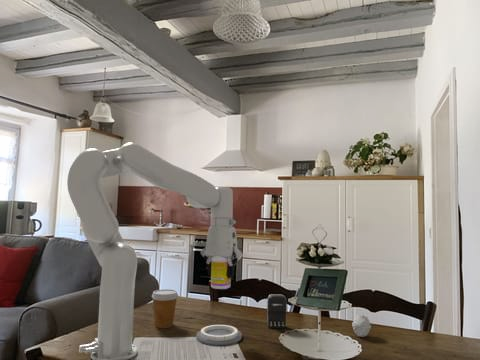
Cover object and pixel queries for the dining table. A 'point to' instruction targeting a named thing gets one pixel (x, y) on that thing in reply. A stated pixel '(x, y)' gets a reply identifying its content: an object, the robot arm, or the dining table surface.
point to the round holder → (219, 335)
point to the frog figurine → (361, 325)
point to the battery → (276, 311)
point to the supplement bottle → (219, 273)
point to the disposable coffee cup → (164, 307)
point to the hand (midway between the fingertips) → (220, 276)
